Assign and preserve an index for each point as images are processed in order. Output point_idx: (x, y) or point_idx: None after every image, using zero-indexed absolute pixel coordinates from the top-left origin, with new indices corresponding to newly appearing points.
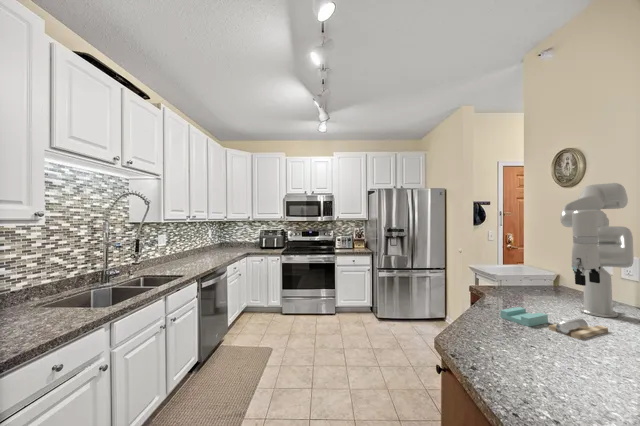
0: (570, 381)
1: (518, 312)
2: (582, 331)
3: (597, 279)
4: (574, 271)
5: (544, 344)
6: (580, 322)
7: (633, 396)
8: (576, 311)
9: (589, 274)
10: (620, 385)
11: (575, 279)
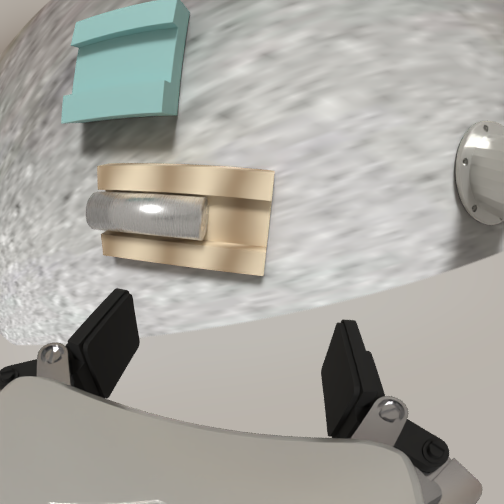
0: (2, 296)
1: (132, 32)
2: (137, 248)
3: (324, 389)
4: (17, 369)
5: (38, 213)
6: (164, 234)
7: (35, 344)
8: (463, 113)
9: (348, 376)
10: (39, 333)
11: (96, 312)
